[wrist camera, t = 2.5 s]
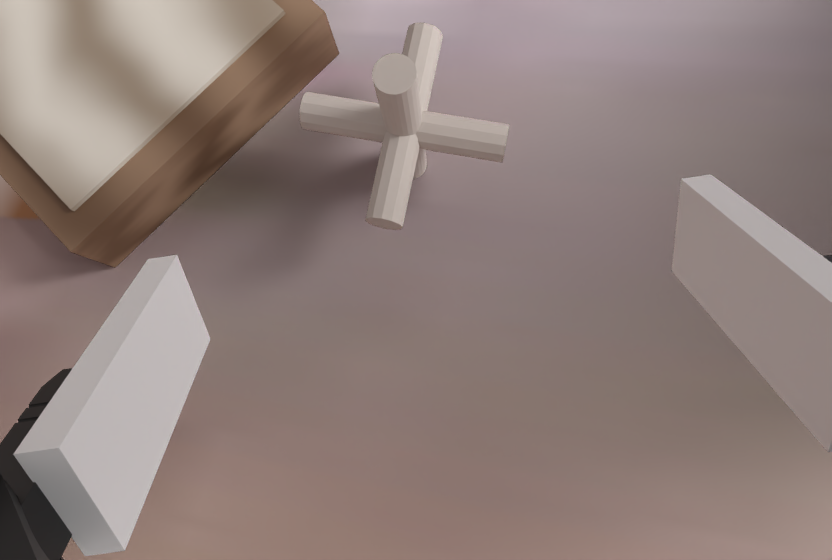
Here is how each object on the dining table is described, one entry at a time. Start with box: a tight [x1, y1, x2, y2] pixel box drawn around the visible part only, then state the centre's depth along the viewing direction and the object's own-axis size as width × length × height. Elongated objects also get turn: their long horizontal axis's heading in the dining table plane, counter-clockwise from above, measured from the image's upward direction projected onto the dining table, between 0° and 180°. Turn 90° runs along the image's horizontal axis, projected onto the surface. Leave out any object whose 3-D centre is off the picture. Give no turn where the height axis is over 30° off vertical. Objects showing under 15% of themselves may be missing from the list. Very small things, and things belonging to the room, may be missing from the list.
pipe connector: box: [300, 23, 510, 230], centre depth 29 cm, size 10×10×10 cm
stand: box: [0, 0, 339, 267], centre depth 34 cm, size 18×18×4 cm
